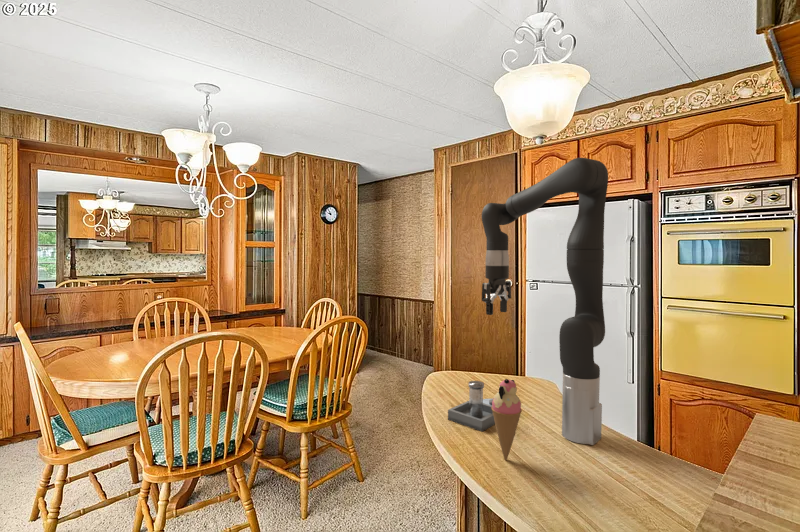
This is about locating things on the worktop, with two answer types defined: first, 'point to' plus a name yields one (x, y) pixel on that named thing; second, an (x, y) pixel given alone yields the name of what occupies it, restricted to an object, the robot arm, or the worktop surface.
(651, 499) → the worktop surface
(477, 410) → the salt shaker
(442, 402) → the worktop surface
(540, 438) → the worktop surface
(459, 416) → the tray
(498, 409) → the ice cream cone
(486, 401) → the pot lid
